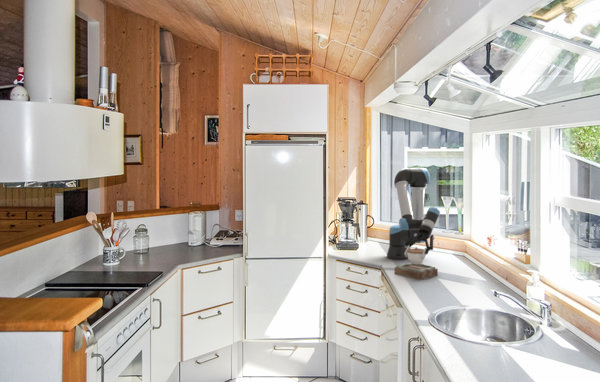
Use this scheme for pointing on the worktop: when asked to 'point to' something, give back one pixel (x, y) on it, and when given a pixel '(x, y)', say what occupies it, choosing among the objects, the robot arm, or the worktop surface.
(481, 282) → the worktop surface
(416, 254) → the lidded jar
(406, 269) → the tray
